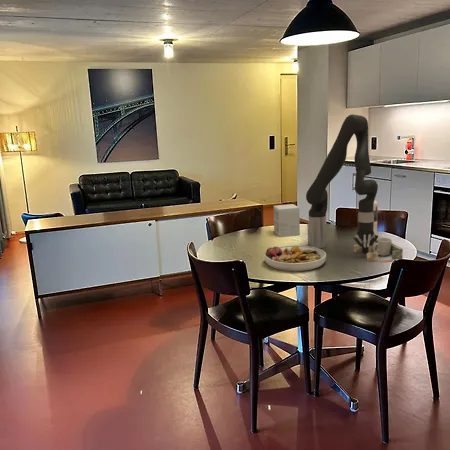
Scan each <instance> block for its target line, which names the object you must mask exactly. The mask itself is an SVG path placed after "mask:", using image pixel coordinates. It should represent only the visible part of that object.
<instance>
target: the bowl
mask: <svg viewBox="0 0 450 450" xmlns="http://www.w3.org/2000/svg"><path fill="white" fill-rule="evenodd" d="M263 255H264V260H265V262H266V264H268V266H270V267H272V268H273V269H276V270H280V271H284V272H285V271H287V272H305V271H310V270H311V271H312V270H314V269H317V268H319V267H321V266H322V265H324V263H325V261H326V260H327V253H326V252H325V251H324V250H323V249H322V248H315V247H309V246H308V245H295V244H294V245H285V246H284V245H283V246H273V247H268V248H267V249H266V251H265V253H264V254H263Z"/></svg>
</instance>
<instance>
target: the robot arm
mask: <svg viewBox="0 0 450 450" xmlns="http://www.w3.org/2000/svg"><path fill="white" fill-rule="evenodd" d="M353 136H355V139H356V149H355V153H354V166H355V183H354V190H355V193H356V194H358V195H359V196H365V197H364V198H362V199H359V201H358V214H357V233H356V235H355V236H352V239H353V240H354V242H355V243H356V245H357V244H358V245H359V246H361V247H362V252H361V253H362V254H363V255H367V253H370V252H369V246H372V245H373V244H374V243H375V241H376V240H377V238H379V235H378V236H377V235H375V234H374V231H373V229H374V213H373V206H374V200H376V197H377V194H378V191H379V190H378V189H379V186H378V185H379V184H378V183H377V180H375V179H366V180H365V177H366V176H369V175H371V173H372V167H371V162H370V155H369V121H368V120H367V118H366V117H365V116H363V115H361V114H354V113H353V114H349V115H347V116H346V117H345V119H344V121H343V123H342V124H341V127H340V130H339V132H338V133H337V137H336V139H335V141H334V142H333V145H332V146H331V149H330V150H329V153H328V154H327V156H326V158H325V160H324V162H323V164H322V166H321V168H320V170H319V172H318V173H317V176H316V178H315V179H314V181H313V183H312V184H311V185H310V187H309V188H308V190H307V191H306V195H305V199H306V201H307V203H308V204H310V205H311V207H310V209H309V210H308V229H307V246H309V247H315V248H318V249H323V248H326V247H327V211H328V200H329V199H328V198H329V197H328V195H329V194H328V191H327V188H328V185H329V184H330V183H331V182H332V181H333V179H334V178H336V176H337V175H338V174H339V172H341V170H342V167H343V166H344V164H345V163H346V160H347V154H348V145H349V143H350V141H351V139H352V137H353ZM371 238H372V239H371ZM370 239H371V240H370Z"/></svg>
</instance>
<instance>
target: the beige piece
mask: <svg viewBox="0 0 450 450" xmlns="http://www.w3.org/2000/svg"><path fill="white" fill-rule="evenodd" d="M372 246H373V245H372ZM372 246H369V252H368V253H367V254H366V262H367V263H372V262H378V261H379V255H378V253H377V252H374V251H373V249H372ZM375 250H376V247H375ZM370 251H371V252H370ZM353 253H355V254H358V253H359V254H360V253H362V247H361V246H359V245H358V244H357V243H356V244H354V245H353ZM389 255H391V260H392V259H393V260H401V259H403V248H402V247H400V246H398V245H396V244H394V243H393V242H391V249H390V254H389Z"/></svg>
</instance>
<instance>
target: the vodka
mask: <svg viewBox="0 0 450 450" xmlns="http://www.w3.org/2000/svg"><path fill="white" fill-rule="evenodd" d="M378 207H379V202H378V201H377V200H376V199H375V200H374V206H373V213H374V229H373V231H374V234H375V235H377V236H378V237H379V234H378V224H379V223H378ZM371 239H372V238H371ZM371 239H370V240H371Z"/></svg>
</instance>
